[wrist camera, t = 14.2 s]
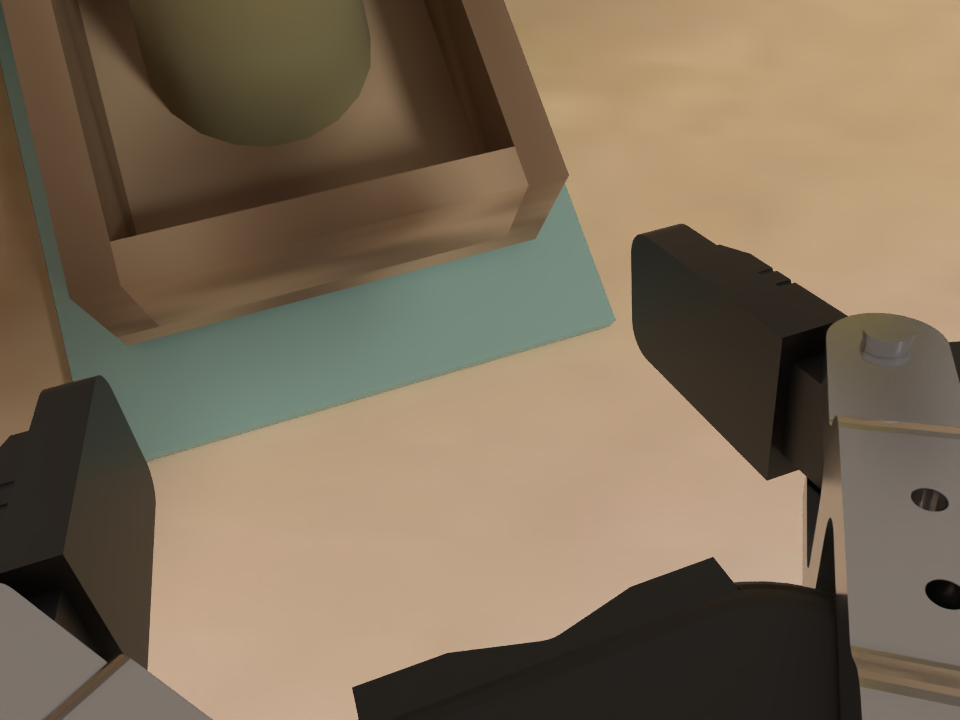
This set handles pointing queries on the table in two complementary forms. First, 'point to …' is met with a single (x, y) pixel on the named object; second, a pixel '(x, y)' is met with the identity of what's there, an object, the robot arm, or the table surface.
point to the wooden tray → (279, 167)
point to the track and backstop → (324, 329)
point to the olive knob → (255, 64)
